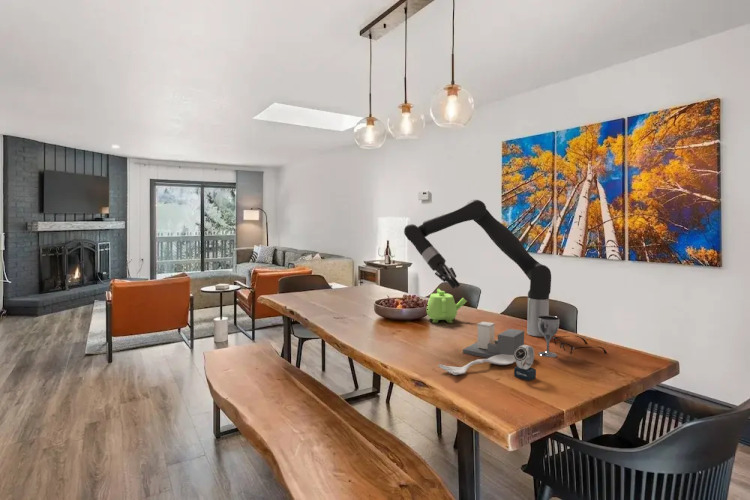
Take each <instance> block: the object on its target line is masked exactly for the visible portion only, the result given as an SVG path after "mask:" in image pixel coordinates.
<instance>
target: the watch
mask: <svg viewBox="0 0 750 500" xmlns="http://www.w3.org/2000/svg"><path fill="white" fill-rule="evenodd" d="M514 358H515V362H514V363H516V366H515V367H513V368H514V371H513V373H514V374H513V376H514V378H517V379H521V380H524V381H527V382H530V381H533V380H535V379H537V377H536V376H537V369H536V368H533V367H532V366H533V363H534V360H535V349H534V347H533V346H531V345H527V344H524V345H522V346H520V347H518V348H517V349H516V350H515V351H514Z"/></svg>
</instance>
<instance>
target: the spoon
mask: <svg viewBox="0 0 750 500" xmlns="http://www.w3.org/2000/svg"><path fill="white" fill-rule="evenodd" d="M484 363H490V364H492V365H496V366H507V365H511V364H514V363H516V362H515V358H514V355H506V354H500V355H495V356H492V357H490V358H481V359H479V358H477V359H476V360H473V361H470V362H469V363H466V364H465V365H464V366H450V365H449V366H448V365H445V364H438V368H441V369H442V370H443V371H445V372H447V373H449V374H452V375H453V376H458V375H464V374H466V372H467V370H468V369H469V368H470V367H471V366H473V365H476V364H484Z"/></svg>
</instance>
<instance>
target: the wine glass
mask: <svg viewBox="0 0 750 500" xmlns="http://www.w3.org/2000/svg"><path fill="white" fill-rule="evenodd" d="M538 327H539V331H540V332H541V334H542V335H543V337H544V339H545V343H546V350H545V351H539V352H538V353H537V354H538V355H539V356H541V357H543V358H557V357H558V354H557V353H556V352H552V351H550V341H551V340H552V338H553V337H555V335H556V334H557V333H558V331H559V327H560V317H559V316H554V315H549V316H548V315H542V316H538Z"/></svg>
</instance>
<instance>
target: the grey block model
mask: <svg viewBox="0 0 750 500" xmlns="http://www.w3.org/2000/svg"><path fill="white" fill-rule="evenodd" d="M522 345H525V330H521V329H517V328H507V329H505V330H504V331H502V332H500V333H498V334H497V339H494V344H490V343H489V344H488V349H483V348H478V341H476V342H474V343H472V344H471V345H469V346H466V347H465V348H463V349H462V353H463V354H465V355H469V356H470V355H472V356H475V357H481V358H484V359H488V358H490V357H492V356H495V355H500V354H506V355H514V351H515V350H516V349H517V348H518V347H520V346H522Z"/></svg>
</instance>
